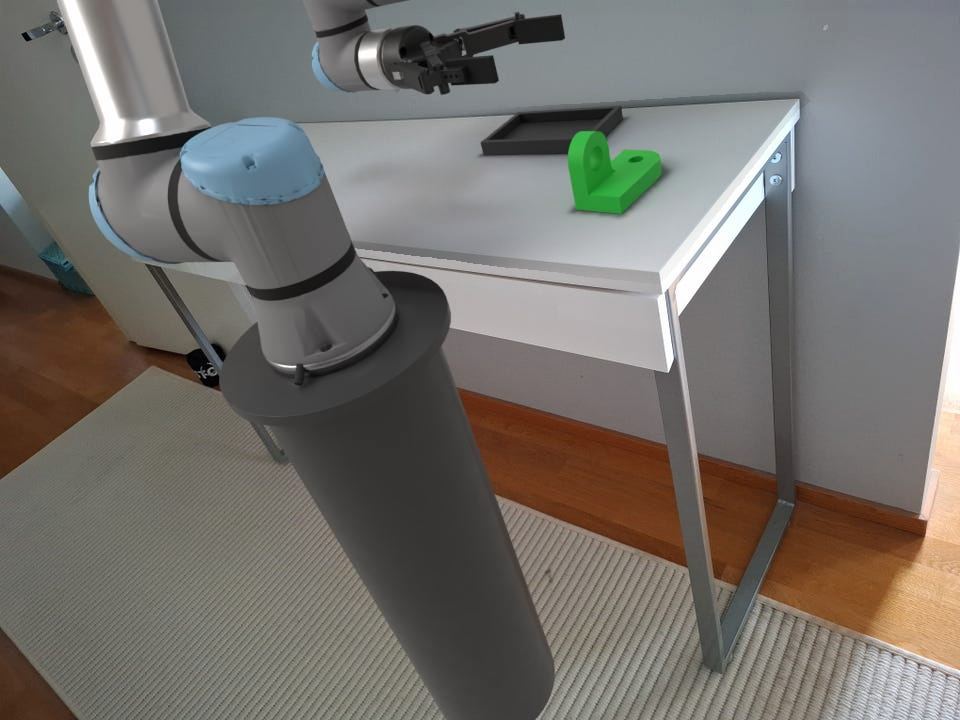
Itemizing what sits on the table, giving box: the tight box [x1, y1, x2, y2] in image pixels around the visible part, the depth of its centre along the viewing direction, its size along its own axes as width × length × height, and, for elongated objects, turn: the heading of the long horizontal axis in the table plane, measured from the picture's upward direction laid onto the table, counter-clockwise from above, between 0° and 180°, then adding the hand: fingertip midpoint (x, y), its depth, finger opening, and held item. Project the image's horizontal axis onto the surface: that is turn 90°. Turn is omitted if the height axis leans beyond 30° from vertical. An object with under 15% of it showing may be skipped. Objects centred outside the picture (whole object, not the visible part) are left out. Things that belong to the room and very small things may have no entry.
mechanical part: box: [567, 131, 663, 215], centre depth 76 cm, size 12×6×8 cm, turn 142°
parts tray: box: [480, 105, 624, 156], centre depth 98 cm, size 12×18×2 cm, turn 58°
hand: (529, 47), depth 75 cm, fingers open, 13 cm apart
